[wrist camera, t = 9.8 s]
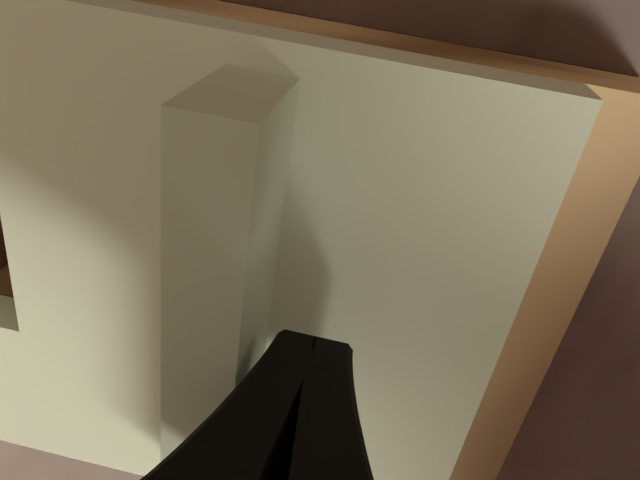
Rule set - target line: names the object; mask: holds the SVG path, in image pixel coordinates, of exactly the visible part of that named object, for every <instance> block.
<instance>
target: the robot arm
mask: <svg viewBox="0 0 640 480" xmlns="http://www.w3.org/2000/svg"><path fill="white" fill-rule="evenodd" d="M140 480H374V478H373V475H372V471H371V467H370V463H369V459H368V455H367V451H366V446H365V442H364V437H363V433H362V428H361V424H360V419H359V413H358V408H357V401H356V394H355V387H354V378H353V349H352V348H351V347H350V345H349V344H348V343H343V342H339V341H335V340H330V339H326V338H321V337H317V336H313V335H308V334H304V333H299V332H295V331H290V330H286V329H284V330H282V331H280V332H279V333H277V335H276V337H275V338H274V340H273V341H272V343H271V344H270V346H269V347H268V348H267V350H266V351H265V353H264V354H263V355H262V357H261V358H260V359H259V360H258V362H257V363H256V364H255V365H254V367H253V368H252V369H251V370H250V371H249V373H248V374H247V375H246V376H245V377H244V379H243V380H242V381H241V382H240V383H239V384H238V385H237V386H236V388H235V389H234V390H233V391H232V392H231V393H230V394H229V395H228V396H227V397H226V399H225V400H224V401H223V402H222V403H221V404H220V405H219V406H218V407H217V408H216V409H215V410H214V412H213V413H212V414H211V415H210V416H209V417H208V418H207V419H206V420H205V421H203V422H202V423H201V424H200V425H199V426H198V427H197V428H196V429H195V430H194V431H193V432H192V433H191V434H190V435H189V436H188V437H187V438H186V439H185V440H184V441H183V442H182V443H181V444H180V445H179V446H178V447H177V448H176V449H175V450H174V451H172V452H171V453H170V454H169V455H168V456H167V457H166V458H165V459H164V460H162V461H161V462H160V463H159V464H158V465H157V466H156V467H154V468H153V469H152V470H151V471H150V472H149V473H148V474H146V475H145V476H144V477H143V478H142V479H140Z"/></svg>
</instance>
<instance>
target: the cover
mask: <svg viewBox="0 0 640 480" xmlns="http://www.w3.org/2000/svg"><path fill="white" fill-rule="evenodd" d="M602 103H603V100H602V99H601V98H600V97H599V96H598V95H597V94H596V93H595V92H594V91H593V90H592V89H590V88H589V87H588V86H587V85H586V84H581V83H576V82H570V81H565V80H560V79H554V78H549V77H543V76H538V75H533V74H527V73H522V72H516V71H511V70H505V69H500V68H495V67H489V66H484V65H478V64H473V63H468V62H462V61H457V60H451V59H446V58H441V57H435V56H430V55H424V54H419V53H413V52H408V51H403V50H397V49H392V48H386V47H381V46H376V45H370V44H365V43H359V42H354V41H349V40H343V39H338V38H332V37H327V36H321V35H316V34H311V33H305V32H300V31H294V30H289V29H284V28H278V27H273V26H267V25H262V24H257V23H251V22H246V21H240V20H235V19H229V18H224V17H219V16H213V15H208V14H202V13H197V12H192V11H186V10H181V9H175V8H170V7H165V6H159V5H154V4H148V3H143V2H137V1H132V0H0V217H1V223H2V229H3V235H4V241H5V247H6V253H7V259H8V265H9V272H10V278H11V284H12V290H13V296H14V298H11V297H7V296H3V295H0V440H2V441H6V442H10V443H14V444H18V445H22V446H26V447H30V448H34V449H38V450H42V451H46V452H50V453H54V454H58V455H62V456H66V457H70V458H74V459H78V460H82V461H86V462H90V463H94V464H98V465H102V466H106V467H110V468H114V469H118V470H122V471H126V472H130V473H134V474H138V475H142V476H145V475H146V474H148V473H149V472H150V471H151V470H152V469H153V468H154V467H156V466H157V465H158V464H159V463H160V462H161V461H162V460H164V459H165V458H166V457H167V456H168V455H169V454H170V453H171V452H172V451H174V450H175V449H176V448H177V447H178V446H179V445H180V444H181V443H182V442H183V441H184V440H185V439H186V438H187V437H188V436H189V435H190V434H191V433H192V432H193V431H194V430H195V429H196V428H197V427H198V426H199V425H200V424H201V423H202V422H203V421H205V420H206V419H207V418H208V417H209V416H210V415H211V414H212V413H213V412H214V410H215V409H216V408H217V407H218V406H219V405H220V404H221V403H222V402H223V401H224V400H225V399H226V397H227V396H228V395H229V394H230V393H231V392H232V391H233V390H234V389H235V388H236V386H237V385H238V384H239V383H240V382H241V381H242V380H243V379H244V377H245V376H246V375H247V374H248V373H249V371H250V370H251V369H252V368H253V367H254V365H255V364H256V363H257V362H258V360H259V359H260V358H261V357H262V355H263V354H264V353H265V351H266V350H267V348H268V347H269V346H270V344H271V343H272V341H273V340H274V338H275V337H276V335H277V333H279V332H280V331H282V330H284V329H286V330H290V331H295V332H299V333H304V334H308V335H313V336H317V337H321V338H326V339H330V340H335V341H339V342H343V343H348V344H349V345H350V347H351V348H352V349H353V378H354V387H355V394H356V401H357V408H358V413H359V419H360V424H361V428H362V433H363V437H364V442H365V446H366V451H367V455H368V459H369V463H370V467H371V471H372V475H373V478H374V480H449V478H450V476H451V473H452V471H453V469H454V466H455V464H456V461H457V459H458V456H459V454H460V451H461V449H462V446H463V444H464V442H465V439H466V437H467V434H468V432H469V429H470V427H471V424H472V422H473V419H474V417H475V415H476V412H477V410H478V407H479V405H480V402H481V400H482V397H483V395H484V392H485V390H486V388H487V385H488V383H489V380H490V378H491V375H492V373H493V370H494V368H495V366H496V363H497V361H498V358H499V356H500V353H501V351H502V348H503V346H504V343H505V341H506V339H507V336H508V334H509V331H510V329H511V326H512V324H513V321H514V319H515V316H516V314H517V312H518V309H519V307H520V304H521V302H522V299H523V297H524V294H525V292H526V290H527V287H528V285H529V282H530V280H531V277H532V275H533V272H534V270H535V267H536V265H537V263H538V260H539V258H540V255H541V253H542V250H543V248H544V245H545V243H546V240H547V238H548V236H549V233H550V231H551V228H552V226H553V223H554V221H555V218H556V216H557V213H558V211H559V209H560V206H561V204H562V201H563V199H564V196H565V194H566V191H567V189H568V187H569V184H570V182H571V179H572V177H573V174H574V172H575V169H576V167H577V164H578V162H579V160H580V157H581V155H582V152H583V150H584V147H585V145H586V142H587V140H588V137H589V135H590V133H591V130H592V128H593V125H594V123H595V120H596V118H597V115H598V113H599V110H600V108H601V106H602Z"/></svg>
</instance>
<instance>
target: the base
mask: <svg viewBox="0 0 640 480" xmlns="http://www.w3.org/2000/svg"><path fill="white" fill-rule="evenodd" d="M132 1H137V2H143V3H148V4H154V5H159V6H165V7H170V8H175V9H181V10H186V11H192V12H197V13H202V14H208V15H213V16H219V17H224V18H229V19H235V20H240V21H246V22H251V23H257V24H262V25H267V26H273V27H278V28H284V29H289V30H294V31H300V32H305V33H311V34H316V35H321V36H327V37H332V38H338V39H343V40H349V41H354V42H359V43H365V44H370V45H376V46H381V47H386V48H392V49H397V50H403V51H408V52H413V53H419V54H424V55H430V56H435V57H441V58H446V59H451V60H457V61H462V62H468V63H473V64H478V65H484V66H489V67H495V68H500V69H505V70H511V71H516V72H522V73H527V74H533V75H538V76H543V77H549V78H554V79H560V80H565V81H570V82H576V83H581V84H586V85H587V86H588V87H589V88H590V89H592V90H593V91H594V92H595V93H596V94H597V95H598V96H599V97H600V98H601V99H602V100H603V103H602V106H601V108H600V110H599V113H598V115H597V118H596V120H595V123H594V125H593V128H592V130H591V133H590V135H589V137H588V140H587V142H586V145H585V147H584V150H583V152H582V155H581V157H580V160H579V162H578V164H577V167H576V169H575V172H574V174H573V177H572V179H571V182H570V184H569V187H568V189H567V191H566V194H565V196H564V199H563V201H562V204H561V206H560V209H559V211H558V213H557V216H556V218H555V221H554V223H553V226H552V228H551V231H550V233H549V236H548V238H547V240H546V243H545V245H544V248H543V250H542V253H541V255H540V258H539V260H538V263H537V265H536V267H535V270H534V272H533V275H532V277H531V280H530V282H529V285H528V287H527V290H526V292H525V294H524V297H523V299H522V302H521V304H520V307H519V309H518V312H517V314H516V316H515V319H514V321H513V324H512V326H511V329H510V331H509V334H508V336H507V339H506V341H505V343H504V346H503V348H502V351H501V353H500V356H499V358H498V361H497V363H496V366H495V368H494V370H493V373H492V375H491V378H490V380H489V383H488V385H487V388H486V390H485V392H484V395H483V397H482V400H481V402H480V405H479V407H478V410H477V412H476V415H475V417H474V419H473V422H472V424H471V427H470V429H469V432H468V434H467V437H466V439H465V442H464V444H463V446H462V449H461V451H460V454H459V456H458V459H457V461H456V464H455V466H454V469H453V471H452V473H451V476H450V478H449V480H496V478H497V476H498V474H499V472H500V470H501V468H502V465H503V463H504V461H505V459H506V457H507V455H508V453H509V451H510V449H511V446H512V444H513V442H514V440H515V438H516V436H517V434H518V432H519V430H520V427H521V425H522V423H523V421H524V419H525V417H526V415H527V413H528V411H529V408H530V406H531V404H532V402H533V400H534V398H535V396H536V394H537V392H538V389H539V387H540V385H541V383H542V381H543V379H544V377H545V375H546V373H547V370H548V368H549V366H550V364H551V362H552V360H553V358H554V356H555V354H556V351H557V349H558V347H559V345H560V343H561V341H562V339H563V337H564V335H565V332H566V330H567V328H568V326H569V324H570V322H571V320H572V318H573V316H574V313H575V311H576V309H577V307H578V305H579V303H580V301H581V299H582V297H583V294H584V292H585V290H586V288H587V286H588V284H589V282H590V280H591V278H592V275H593V273H594V271H595V269H596V267H597V265H598V263H599V261H600V259H601V256H602V254H603V252H604V250H605V248H606V246H607V244H608V242H609V240H610V237H611V235H612V233H613V231H614V229H615V227H616V225H617V223H618V221H619V218H620V216H621V214H622V212H623V210H624V208H625V206H626V204H627V202H628V199H629V197H630V195H631V193H632V191H633V189H634V187H635V185H636V183H637V180H638V178H639V176H640V77H634V76H629V75H623V74H618V73H612V72H607V71H601V70H596V69H591V68H585V67H580V66H574V65H569V64H563V63H558V62H552V61H547V60H541V59H536V58H530V57H525V56H519V55H514V54H508V53H503V52H497V51H492V50H486V49H481V48H476V47H470V46H465V45H459V44H454V43H448V42H443V41H437V40H432V39H426V38H421V37H415V36H410V35H404V34H399V33H393V32H388V31H382V30H377V29H371V28H366V27H361V26H355V25H350V24H344V23H339V22H333V21H328V20H322V19H317V18H311V17H306V16H300V15H295V14H289V13H284V12H278V11H273V10H267V9H262V8H256V7H251V6H245V5H240V4H235V3H229V2H224V1H218V0H132ZM0 295H3V296H7V297H11V298H14V296H13V290H12V284H11V278H10V272H9V265H8V259H7V253H6V247H5V241H4V235H3V229H2V223H1V217H0Z"/></svg>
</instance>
